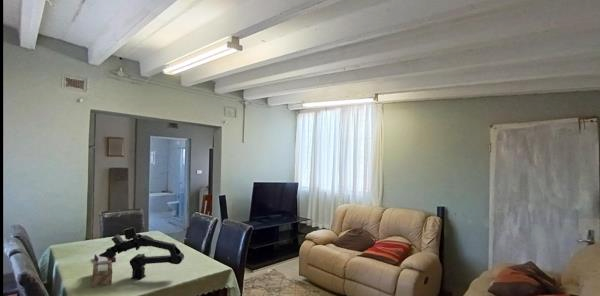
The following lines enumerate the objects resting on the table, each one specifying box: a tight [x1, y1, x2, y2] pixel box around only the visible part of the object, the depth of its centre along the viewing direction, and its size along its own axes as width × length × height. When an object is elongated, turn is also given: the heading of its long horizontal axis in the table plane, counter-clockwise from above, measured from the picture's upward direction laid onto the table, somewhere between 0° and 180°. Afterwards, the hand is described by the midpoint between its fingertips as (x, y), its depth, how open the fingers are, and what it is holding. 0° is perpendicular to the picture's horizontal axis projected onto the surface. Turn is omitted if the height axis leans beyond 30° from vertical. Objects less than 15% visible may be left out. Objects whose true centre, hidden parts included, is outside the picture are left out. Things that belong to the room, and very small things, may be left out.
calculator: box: [94, 252, 117, 263], centre depth 237 cm, size 11×4×15 cm
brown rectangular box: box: [91, 260, 113, 288], centre depth 203 cm, size 10×22×8 cm, turn 31°
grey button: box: [98, 259, 108, 265], centre depth 208 cm, size 5×5×3 cm
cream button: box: [98, 264, 108, 272], centre depth 199 cm, size 5×5×3 cm
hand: (102, 253), depth 207 cm, fingers open, 9 cm apart
